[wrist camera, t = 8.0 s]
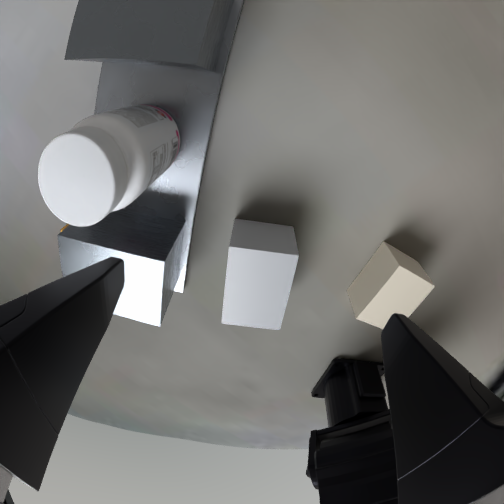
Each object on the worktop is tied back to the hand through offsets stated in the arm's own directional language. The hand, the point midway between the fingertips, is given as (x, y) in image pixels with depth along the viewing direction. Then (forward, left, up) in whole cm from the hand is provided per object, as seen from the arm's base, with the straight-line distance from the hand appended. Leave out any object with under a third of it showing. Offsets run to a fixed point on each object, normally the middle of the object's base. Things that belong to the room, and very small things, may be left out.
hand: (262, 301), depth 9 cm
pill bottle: (+2, +8, -11) cm, 14 cm away
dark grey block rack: (+1, +8, -12) cm, 14 cm away
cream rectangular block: (-5, -11, -12) cm, 17 cm away
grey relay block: (-6, -1, -12) cm, 13 cm away
